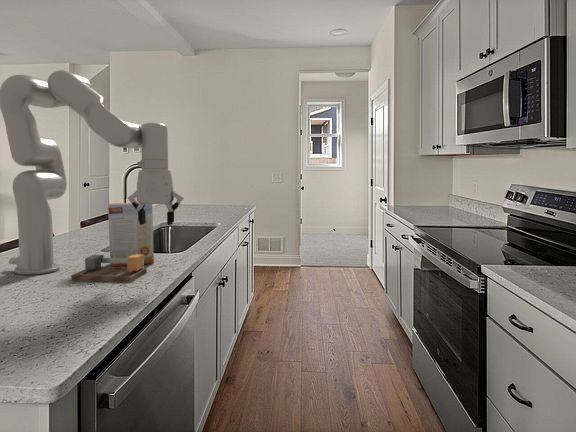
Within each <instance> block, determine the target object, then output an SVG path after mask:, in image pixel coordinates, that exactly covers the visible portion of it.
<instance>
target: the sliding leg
mask: <svg viewBox="0 0 576 432" xmlns="http://www.w3.org/2000/svg"><path fill="white" fill-rule="evenodd" d="M143 257H144V255H138V254H134V255H131V256H129V257H127V266H126V268H127V271H126V272H127V273H130V272H132V271H137V270H139V269H141V268H142V258H143Z"/></svg>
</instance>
